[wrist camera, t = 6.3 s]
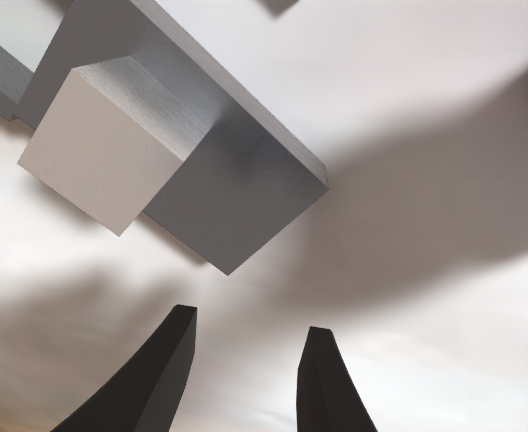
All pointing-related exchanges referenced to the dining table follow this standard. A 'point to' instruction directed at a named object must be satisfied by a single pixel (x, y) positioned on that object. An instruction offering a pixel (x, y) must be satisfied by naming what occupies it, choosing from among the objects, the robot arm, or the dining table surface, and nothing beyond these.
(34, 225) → the dining table surface
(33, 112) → the grey sliding box
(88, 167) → the block
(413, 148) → the dining table surface
